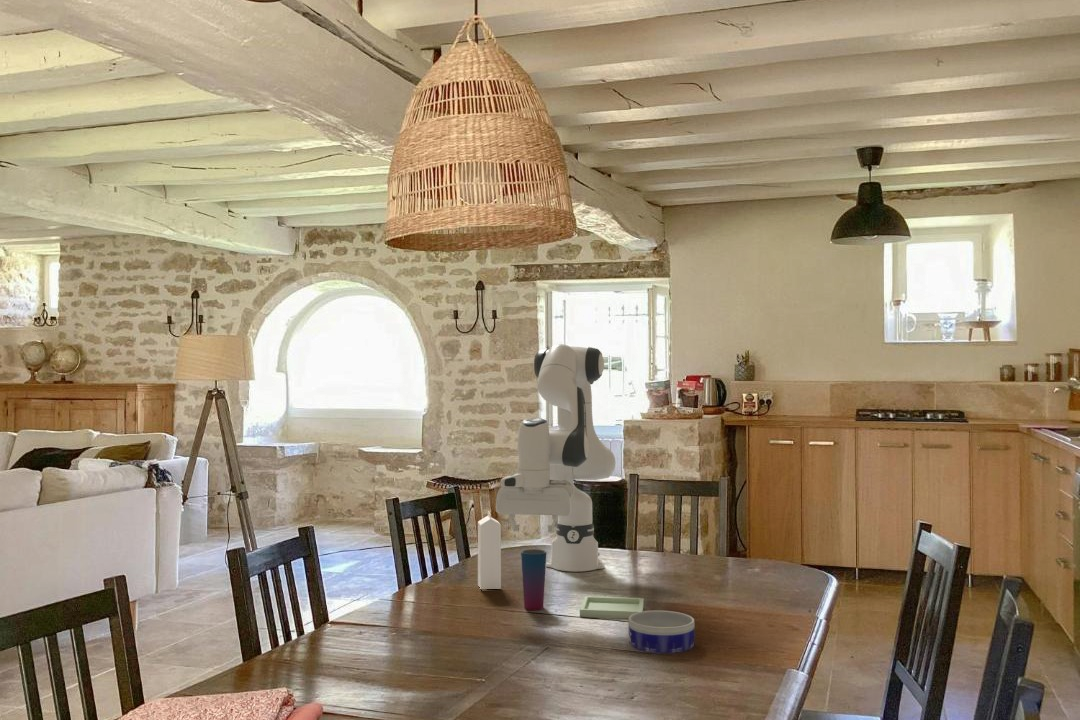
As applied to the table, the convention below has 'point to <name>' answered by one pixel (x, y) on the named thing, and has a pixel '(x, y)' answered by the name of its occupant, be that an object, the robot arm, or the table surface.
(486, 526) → the milk
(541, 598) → the cup
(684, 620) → the dog bowl
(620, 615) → the tray
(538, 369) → the robot arm
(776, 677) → the table surface
